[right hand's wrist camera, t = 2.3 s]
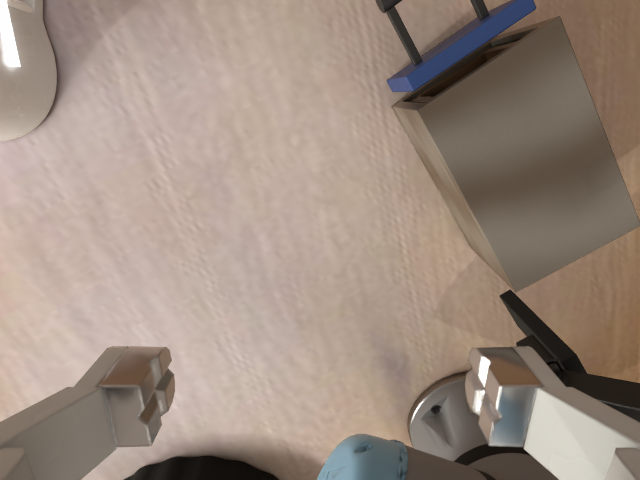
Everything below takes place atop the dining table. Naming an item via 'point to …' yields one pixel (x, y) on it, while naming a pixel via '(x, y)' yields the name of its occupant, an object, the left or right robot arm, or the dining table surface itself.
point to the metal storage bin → (522, 156)
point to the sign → (200, 470)
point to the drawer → (452, 46)
